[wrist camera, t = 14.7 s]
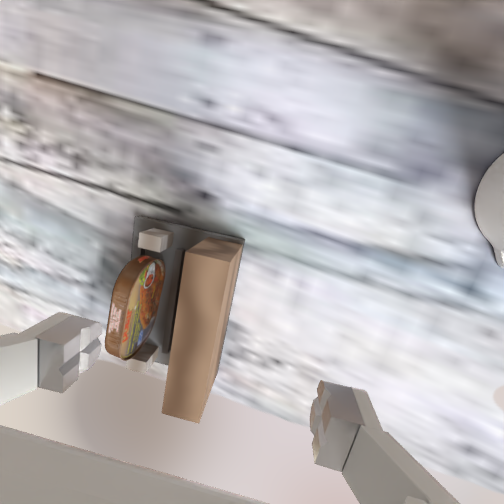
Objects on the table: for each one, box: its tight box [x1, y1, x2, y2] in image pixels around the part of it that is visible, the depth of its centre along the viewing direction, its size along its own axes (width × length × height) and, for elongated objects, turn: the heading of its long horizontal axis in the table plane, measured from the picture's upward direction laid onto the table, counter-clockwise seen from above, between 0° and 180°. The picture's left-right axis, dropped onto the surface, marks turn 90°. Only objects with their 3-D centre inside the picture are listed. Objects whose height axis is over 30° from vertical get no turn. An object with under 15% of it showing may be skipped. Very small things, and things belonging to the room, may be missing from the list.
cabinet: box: [126, 216, 245, 423], centre depth 36 cm, size 16×23×10 cm
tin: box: [105, 255, 165, 361], centre depth 36 cm, size 15×3×8 cm, turn 163°
